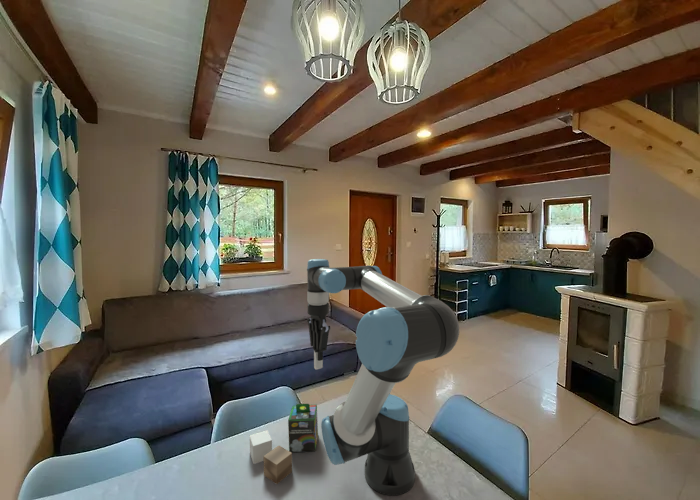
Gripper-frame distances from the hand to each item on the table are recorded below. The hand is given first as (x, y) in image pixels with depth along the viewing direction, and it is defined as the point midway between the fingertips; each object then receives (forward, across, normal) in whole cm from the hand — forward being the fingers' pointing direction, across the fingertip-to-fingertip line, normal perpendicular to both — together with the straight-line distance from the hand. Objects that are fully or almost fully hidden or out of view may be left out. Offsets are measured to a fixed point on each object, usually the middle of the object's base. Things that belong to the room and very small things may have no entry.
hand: (318, 368), depth 107 cm
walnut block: (+26, -8, +18) cm, 32 cm away
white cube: (+26, +3, +20) cm, 33 cm away
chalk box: (+26, 0, +6) cm, 27 cm away
